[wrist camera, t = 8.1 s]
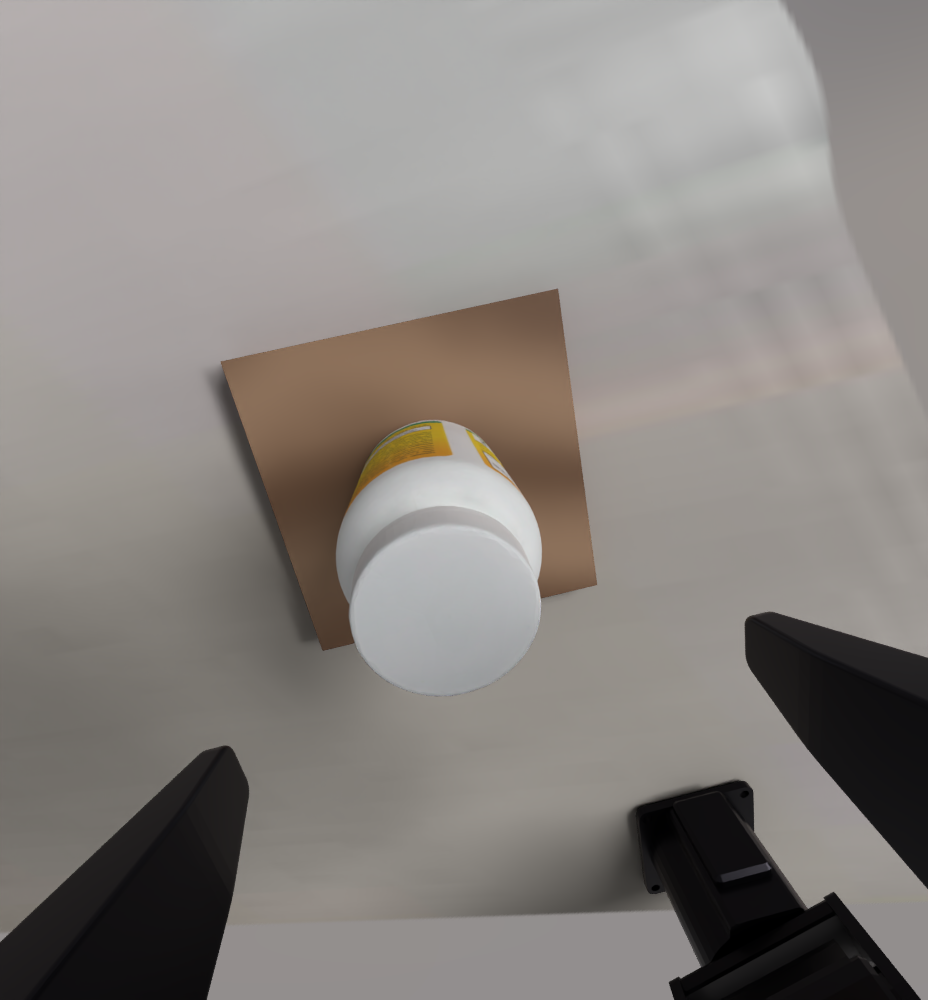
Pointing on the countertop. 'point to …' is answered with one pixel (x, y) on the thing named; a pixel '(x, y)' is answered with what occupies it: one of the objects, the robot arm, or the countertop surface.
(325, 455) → the walnut board
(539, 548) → the supplement bottle
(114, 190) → the countertop surface
